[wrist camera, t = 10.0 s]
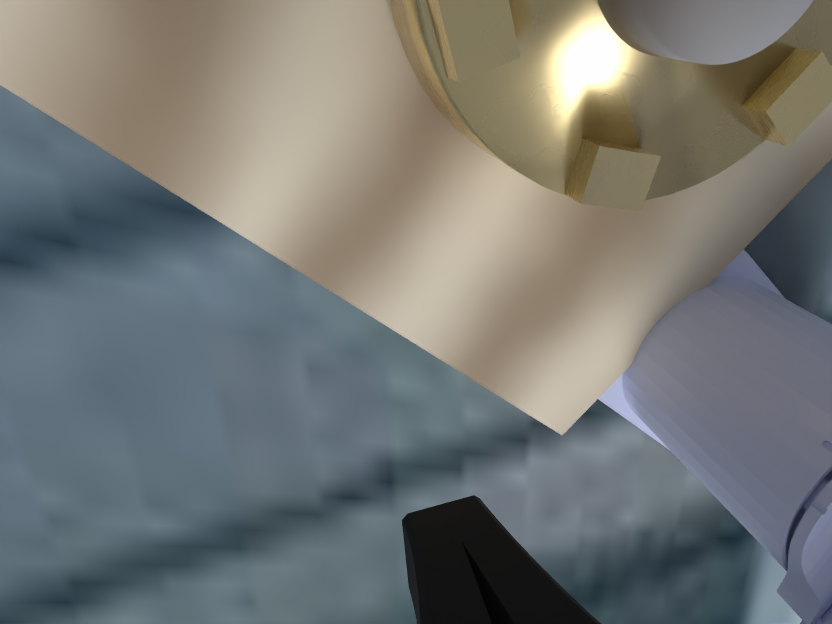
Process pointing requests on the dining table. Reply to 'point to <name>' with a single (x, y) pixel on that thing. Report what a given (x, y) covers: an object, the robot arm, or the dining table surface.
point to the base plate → (408, 173)
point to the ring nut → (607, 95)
